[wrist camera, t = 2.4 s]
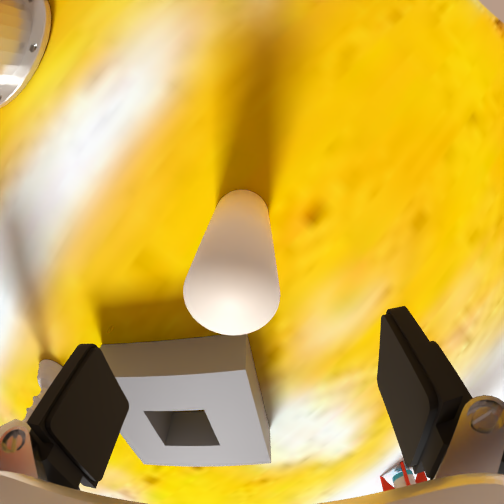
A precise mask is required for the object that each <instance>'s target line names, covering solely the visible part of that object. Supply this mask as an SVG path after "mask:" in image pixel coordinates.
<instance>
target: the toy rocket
mask: <svg viewBox="0 0 504 504" xmlns="http://www.w3.org/2000/svg"><path fill="white" fill-rule="evenodd" d="M400 465H401V468H402V472H400V473H398V474H396V475H395V476H394V477H393V483H394V487H395V488H394V487H393V486H391V485H390V484H389V483H388V482H387V481H386V480H385V479H384V478H383V477H381V476H380V479H381V483H382V487H383V491H388V490H392V489H396V488H400V487H404V486H408V485H412V484H416V483H420V482H424V481H427V478H426V475H425V473H424V472H421V473H418V474H417V477H416V480H415V479H414V476H413V473H412V471H411V470H406V469H405V467H404V464H403V462H400Z"/></svg>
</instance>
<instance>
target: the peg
mask: <svg viewBox="0 0 504 504" xmlns="http://www.w3.org/2000/svg"><path fill="white" fill-rule="evenodd" d="M183 294H184V300H185V304H186V306H187V309H188V310H189V312H190V314H191V315H192V316H193V318H194V319H195V320H196V321H197V322H198V323H200V324H201V325H202V326H204V327H205V328H207V329H209V330H211V331H213V332H216V333H220V334H224V335H243V334H248V333H251V332H253V331H256V330H258V329H260V328H261V327H263V326H264V325H265V324H267V323H268V322H269V321H270V320H271V318H272V317H273V316H274V314H275V313H276V311H277V308H278V306H279V301H280V288H279V281H278V274H277V267H276V260H275V253H274V246H273V240H272V233H271V226H270V220H269V213H268V208H267V206H266V204H265V202H264V200H263V199H262V198H261V197H260V196H259V195H258V194H256V193H254V192H252V191H249V190H241V189H240V190H234V191H231V192H229V193H227V194H226V195H225V196H223V197H222V198H221V200H220V201H219V203H218V205H217V207H216V209H215V211H214V214H213V216H212V218H211V221H210V223H209V225H208V227H207V230H206V232H205V234H204V237H203V239H202V241H201V244H200V246H199V248H198V251H197V253H196V255H195V258H194V260H193V262H192V265H191V267H190V270H189V272H188V274H187V277H186V280H185V283H184V289H183Z"/></svg>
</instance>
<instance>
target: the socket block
mask: <svg viewBox="0 0 504 504" xmlns="http://www.w3.org/2000/svg"><path fill="white" fill-rule="evenodd" d="M100 349H101V351H102V353H103V355H104V357H105V359H106V361H107V363H108V365H109V367H110V368H111V370H112V372H113V374H114V376H115V378H116V380H117V382H118V384H119V385H120V387H121V389H122V391H123V393H124V394H125V396H126V398H127V400H128V402H129V410H128V413H127V415H126V418H125V420H124V423H123V425H122V428H121V430H120V433H121V435H122V436H123V438H124V439H125V440H126V442H127V443H128V444H129V446H130V447H131V448H132V450H133V451H134V452H135V453H136V455H137V456H138V457H139V458H140V460H141V461H142V462H143V463H144V464H150V465H167V466H236V465H253V464H265V463H271V447H270V428H269V424H268V420H267V415H266V411H265V407H264V403H263V399H262V395H261V391H260V386H259V382H258V378H257V374H256V369H255V365H254V361H253V356H252V352H251V348H250V343H249V339H248V335H247V334H243V335H216V336H207V337H198V338H188V339H177V340H165V341H153V342H139V343H123V344H105V345H101V347H100ZM188 410H205V411H194V412H173V411H188Z"/></svg>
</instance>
